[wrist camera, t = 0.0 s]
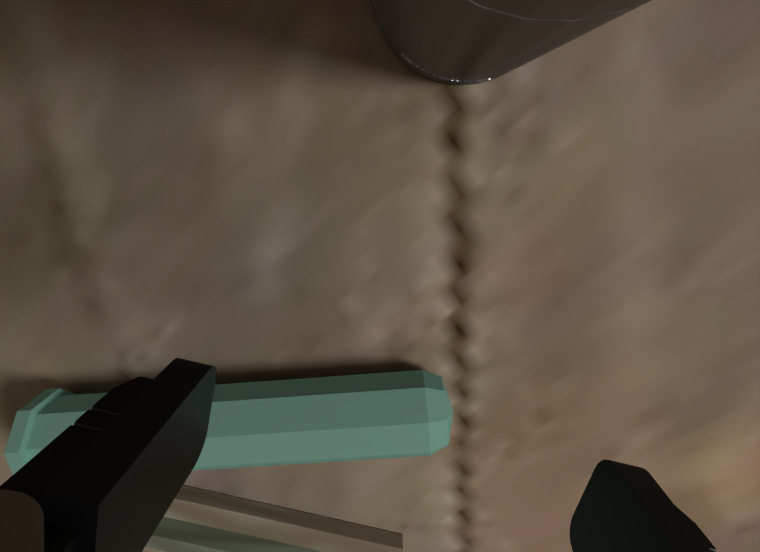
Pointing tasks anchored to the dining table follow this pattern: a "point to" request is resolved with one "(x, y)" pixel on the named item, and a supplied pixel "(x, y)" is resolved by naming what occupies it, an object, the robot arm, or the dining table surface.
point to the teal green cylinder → (282, 420)
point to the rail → (258, 528)
